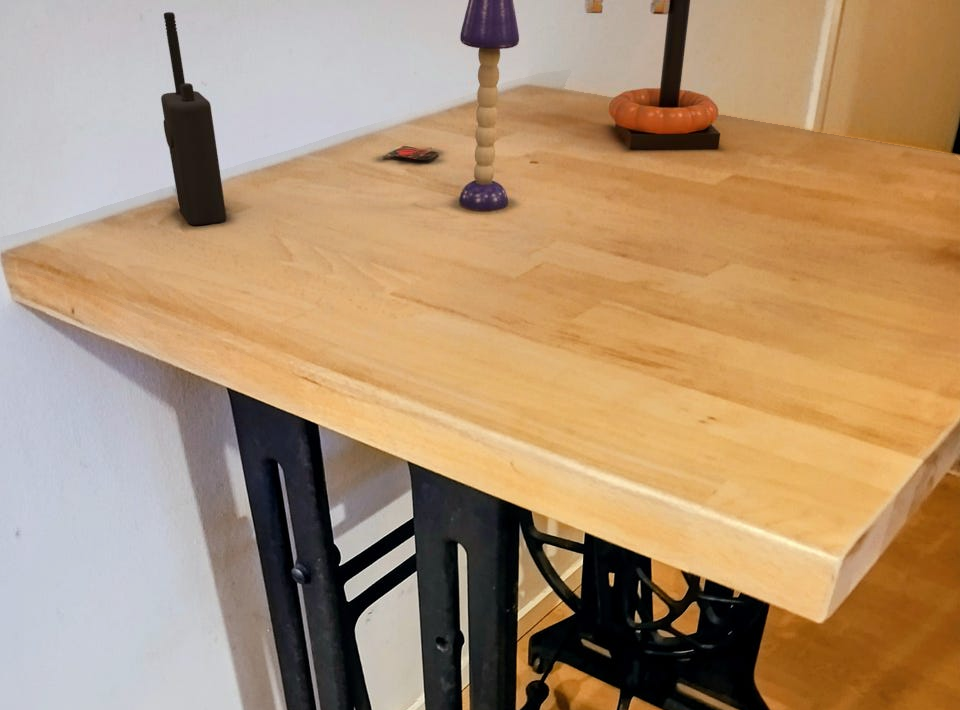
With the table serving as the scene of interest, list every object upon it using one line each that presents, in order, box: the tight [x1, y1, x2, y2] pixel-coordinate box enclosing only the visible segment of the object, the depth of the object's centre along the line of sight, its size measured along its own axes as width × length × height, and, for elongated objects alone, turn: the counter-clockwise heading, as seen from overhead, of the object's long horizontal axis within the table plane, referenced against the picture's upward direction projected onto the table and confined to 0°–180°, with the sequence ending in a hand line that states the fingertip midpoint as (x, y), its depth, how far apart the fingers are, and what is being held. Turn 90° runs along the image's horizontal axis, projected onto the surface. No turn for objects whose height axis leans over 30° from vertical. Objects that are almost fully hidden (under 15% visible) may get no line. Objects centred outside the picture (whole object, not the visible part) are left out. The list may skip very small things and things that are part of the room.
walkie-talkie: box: [160, 11, 227, 226], centre depth 81 cm, size 5×3×15 cm
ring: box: [608, 87, 719, 134], centre depth 104 cm, size 11×11×2 cm
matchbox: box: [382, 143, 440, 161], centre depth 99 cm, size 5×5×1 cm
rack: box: [614, 0, 721, 151], centre depth 102 cm, size 9×9×14 cm
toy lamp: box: [458, 0, 520, 212], centre depth 83 cm, size 5×5×17 cm
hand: (626, 13), depth 99 cm, fingers open, 5 cm apart
